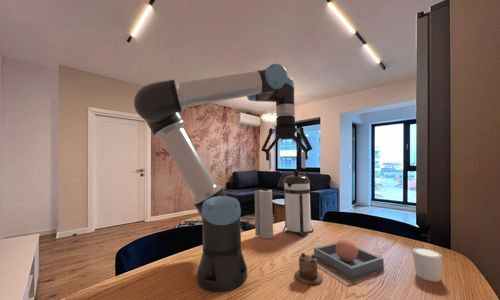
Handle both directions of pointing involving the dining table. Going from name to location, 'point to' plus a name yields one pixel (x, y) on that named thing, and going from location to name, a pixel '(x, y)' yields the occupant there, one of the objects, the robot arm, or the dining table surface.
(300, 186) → the coffee press
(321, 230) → the dining table surface
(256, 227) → the gray grooved column
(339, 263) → the tray
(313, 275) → the tee
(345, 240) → the ball
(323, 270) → the line
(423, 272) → the white short cylinder
